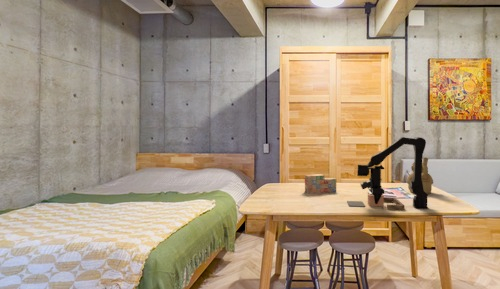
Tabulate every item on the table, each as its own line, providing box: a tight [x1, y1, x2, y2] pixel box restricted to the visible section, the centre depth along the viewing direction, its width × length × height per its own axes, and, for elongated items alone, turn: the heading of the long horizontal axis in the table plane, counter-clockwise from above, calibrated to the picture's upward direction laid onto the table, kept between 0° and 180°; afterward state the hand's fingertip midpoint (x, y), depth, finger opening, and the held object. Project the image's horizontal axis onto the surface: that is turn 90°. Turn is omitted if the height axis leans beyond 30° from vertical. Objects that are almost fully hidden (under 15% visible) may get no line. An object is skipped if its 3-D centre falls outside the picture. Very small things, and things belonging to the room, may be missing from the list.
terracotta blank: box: [367, 193, 385, 207], centre depth 202 cm, size 8×5×6 cm, turn 80°
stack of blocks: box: [304, 173, 337, 194], centre depth 244 cm, size 21×6×12 cm, turn 102°
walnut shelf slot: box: [384, 196, 405, 211], centre depth 201 cm, size 9×21×2 cm, turn 170°
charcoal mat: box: [346, 200, 366, 208], centre depth 204 cm, size 9×12×1 cm
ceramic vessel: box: [406, 157, 434, 195], centre depth 237 cm, size 17×20×25 cm
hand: (375, 202), depth 202 cm, fingers closed on terracotta blank, 5 cm apart
